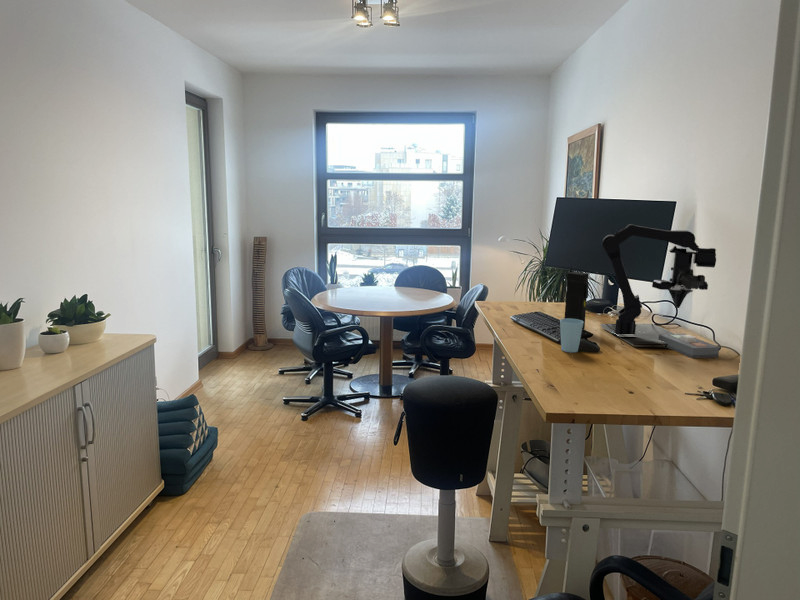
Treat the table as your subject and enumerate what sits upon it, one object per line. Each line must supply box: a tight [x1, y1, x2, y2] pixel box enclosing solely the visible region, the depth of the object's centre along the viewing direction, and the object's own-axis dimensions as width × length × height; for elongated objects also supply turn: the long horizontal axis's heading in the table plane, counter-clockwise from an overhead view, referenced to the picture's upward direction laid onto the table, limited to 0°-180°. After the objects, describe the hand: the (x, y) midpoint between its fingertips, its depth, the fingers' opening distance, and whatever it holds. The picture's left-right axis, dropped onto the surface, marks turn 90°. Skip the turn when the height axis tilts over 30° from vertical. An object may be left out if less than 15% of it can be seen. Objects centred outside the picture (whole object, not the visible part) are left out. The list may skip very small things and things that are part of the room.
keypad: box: [658, 333, 720, 359], centre depth 201 cm, size 10×18×4 cm, turn 12°
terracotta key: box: [691, 343, 707, 347], centre depth 196 cm, size 4×4×2 cm
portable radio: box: [563, 265, 590, 331], centre depth 226 cm, size 8×6×25 cm
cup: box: [559, 318, 584, 353], centre depth 197 cm, size 8×8×10 cm
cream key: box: [680, 334, 698, 342], centre depth 201 cm, size 4×4×2 cm
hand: (677, 307), depth 212 cm, fingers closed
